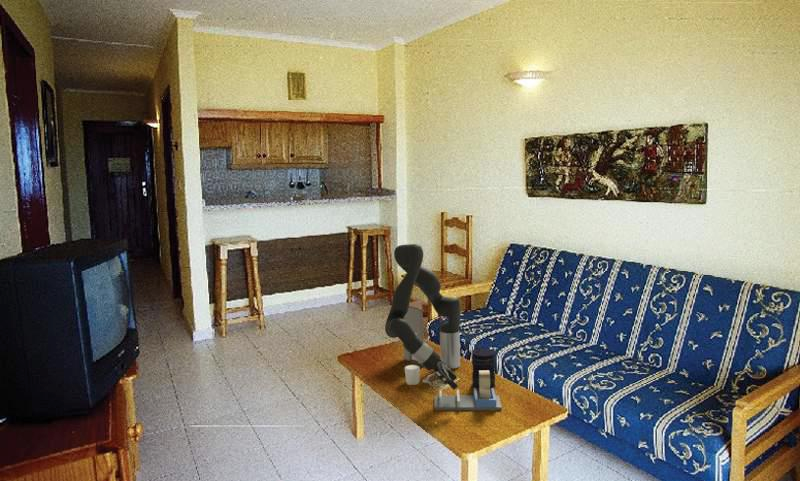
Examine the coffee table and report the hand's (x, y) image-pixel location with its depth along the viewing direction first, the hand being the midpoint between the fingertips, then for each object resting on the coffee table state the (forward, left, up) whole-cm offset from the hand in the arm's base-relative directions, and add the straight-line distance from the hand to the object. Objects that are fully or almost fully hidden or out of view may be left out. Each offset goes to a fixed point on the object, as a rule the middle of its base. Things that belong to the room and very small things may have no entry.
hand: (455, 383), depth 212 cm
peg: (0, +11, -7) cm, 14 cm away
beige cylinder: (-22, -19, -9) cm, 30 cm away
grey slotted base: (0, +4, -9) cm, 10 cm away
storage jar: (-19, +12, -9) cm, 24 cm away
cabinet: (-51, -20, -9) cm, 55 cm away
